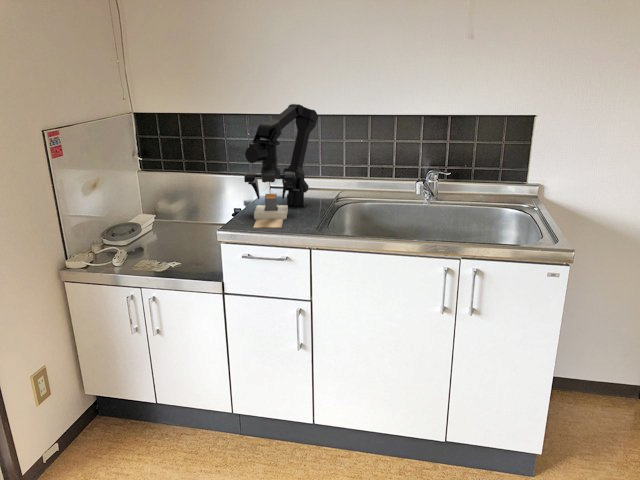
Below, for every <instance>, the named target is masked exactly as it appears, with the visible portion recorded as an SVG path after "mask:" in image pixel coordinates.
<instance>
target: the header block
mask: <svg viewBox="0 0 640 480" xmlns="http://www.w3.org/2000/svg"><path fill="white" fill-rule="evenodd" d="M288 211H289V207H288V205H287V204H286V205H285V204H284V205H282V204H280V205H279V204H277V211H265V204H264V205H263V204H262V205H259V204H258V205H256V207H255V209H254V212H253V219H254V220H256V219H283V220H287V216H288V213H289V212H288Z"/></svg>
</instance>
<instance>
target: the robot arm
mask: <svg viewBox="0 0 640 480" xmlns="http://www.w3.org/2000/svg"><path fill="white" fill-rule="evenodd" d="M318 118H319V115H318V113H317V111H316V110H315V109H311V108H307V107H305V106H303V105H301V104H300V103H299V104H298V103H291V104H289V105H288V106H287V108H285V109H284V110H282V112H280V113H279V114H278V115H277V116H276V117H274V118H273V119H271V120H267V121H265V122H262V123H260V124H259V125H258V127H257V130H256V131H255V132H256V133H255V135H254V137H253V140H252V142H251V143H249V144H248V147H247V148H246V150H245V154H244V155H245V160H246V161H247V162H249V163H251V164H254V163H258V162H261V170H260V173H261V174H258V173H257V171H247V172H246V173H245V175H243V176H244V183H247V184H248V185H251V186H252V189H253V190H254V192H255V194H256V197H257V200H260V195H261V194H260V189H259V187H260V186H259V182H258V181H259V180H261V182H262V183H274V182H275V183H276V180H281V182H282V183H281V184H282V194H281V195H282V197H281V198H282V200H284V199H285V196H286V205H288V208H305V203H306V202H305V193H307V192H308V191H309V188H310V187H309V184H308V183H307V182H306V180H305V176H306V175H305V172H304V169H303V166H304V163H305V158H306V152H307V147H308V143H309V138H310V134H311V132H312V131H313V130H314V129H315V128H316V125H317V123H318ZM294 120H295V123H294V124H295V126H296V129H297V132H296V136H295V141H294V146H293V151H292V154H291V159H290V165H289V166H288V167H284V169H283V172H282V174H281V168H278V150H277V149H278V147H277V146H279V145H281V143H280V142H279V140H278V139H279V138H280V136H281V135H282V131H283V129H285V127H287V126H288V125H289V124H290V123H291V122H292V121H294ZM287 191H288V192H287ZM286 192H287V193H286Z"/></svg>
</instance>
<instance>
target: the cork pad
mask: <svg viewBox="0 0 640 480" xmlns="http://www.w3.org/2000/svg"><path fill="white" fill-rule="evenodd" d="M283 223H284V219H255V222H254V225H253V227H252V228H253V229H282V227H283Z"/></svg>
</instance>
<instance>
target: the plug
mask: <svg viewBox="0 0 640 480" xmlns="http://www.w3.org/2000/svg"><path fill="white" fill-rule="evenodd" d="M277 194H278V193H265V195H264V205H265V211H277V205H278V201H277Z"/></svg>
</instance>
